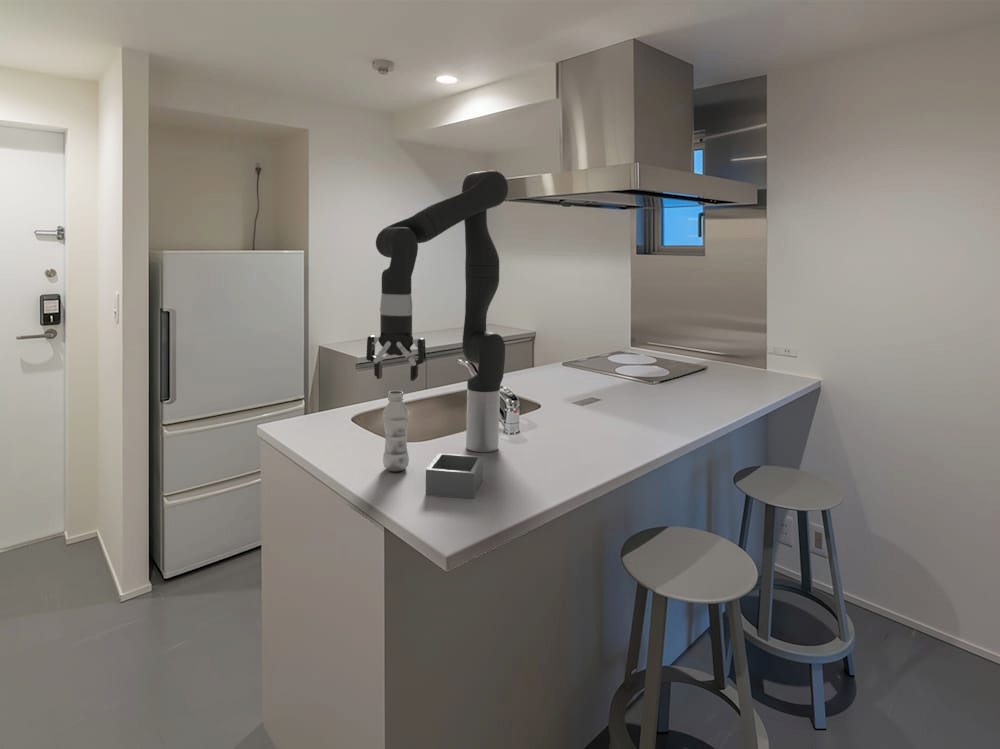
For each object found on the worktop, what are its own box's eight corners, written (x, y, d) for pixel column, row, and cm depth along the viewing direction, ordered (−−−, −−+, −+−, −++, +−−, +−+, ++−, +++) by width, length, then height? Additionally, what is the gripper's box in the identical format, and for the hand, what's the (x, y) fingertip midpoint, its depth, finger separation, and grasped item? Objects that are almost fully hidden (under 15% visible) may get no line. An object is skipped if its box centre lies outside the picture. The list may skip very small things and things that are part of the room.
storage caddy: (438, 476, 145) (438, 452, 144) (482, 479, 144) (483, 456, 143) (425, 494, 134) (425, 469, 133) (473, 498, 132) (474, 473, 131)
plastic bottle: (410, 465, 152) (410, 389, 149) (407, 474, 146) (407, 395, 142) (385, 465, 152) (384, 389, 148) (380, 474, 146) (380, 395, 142)
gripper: (429, 313, 144) (428, 378, 147) (373, 310, 146) (373, 374, 149) (421, 315, 137) (420, 384, 140) (362, 312, 139) (362, 380, 142)
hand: (396, 379), depth 145 cm, fingers open, 8 cm apart
